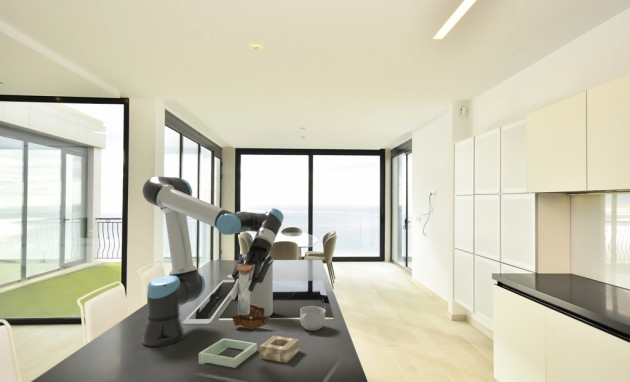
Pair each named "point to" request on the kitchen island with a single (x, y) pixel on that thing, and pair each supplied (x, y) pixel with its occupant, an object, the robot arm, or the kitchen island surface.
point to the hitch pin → (243, 287)
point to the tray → (212, 352)
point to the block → (279, 348)
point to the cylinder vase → (264, 292)
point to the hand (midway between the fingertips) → (238, 298)
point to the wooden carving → (251, 318)
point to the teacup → (312, 317)
